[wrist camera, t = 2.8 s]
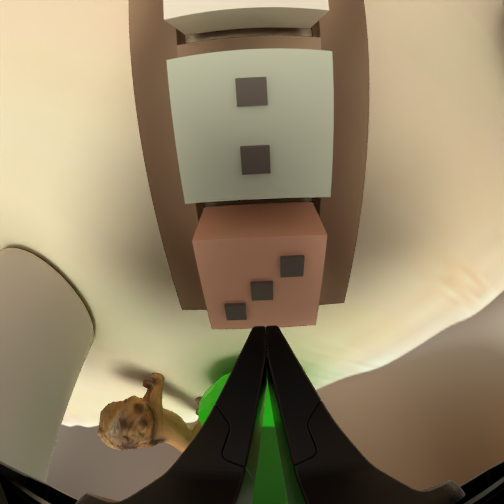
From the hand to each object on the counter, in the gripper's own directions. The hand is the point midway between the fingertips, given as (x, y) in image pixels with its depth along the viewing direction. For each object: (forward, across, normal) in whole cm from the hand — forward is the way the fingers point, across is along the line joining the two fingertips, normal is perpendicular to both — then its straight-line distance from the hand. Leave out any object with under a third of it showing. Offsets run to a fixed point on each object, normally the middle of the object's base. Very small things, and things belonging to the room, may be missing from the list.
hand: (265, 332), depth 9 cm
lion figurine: (+7, +11, +19) cm, 23 cm away
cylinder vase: (+7, +20, +6) cm, 22 cm away
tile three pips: (+5, 0, 0) cm, 5 cm away
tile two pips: (+5, 0, -6) cm, 8 cm away
